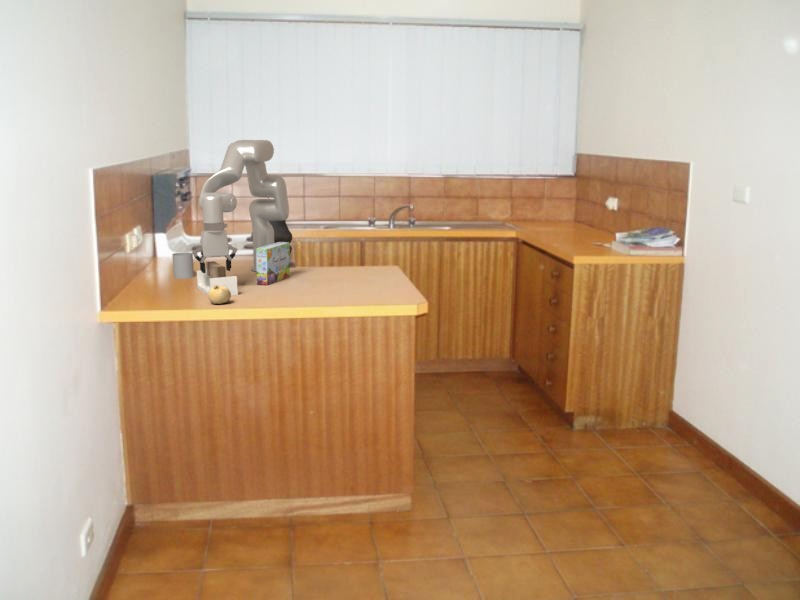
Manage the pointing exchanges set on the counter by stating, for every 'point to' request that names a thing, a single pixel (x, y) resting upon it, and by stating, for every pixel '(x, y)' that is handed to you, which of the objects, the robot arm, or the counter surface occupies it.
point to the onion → (219, 294)
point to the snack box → (273, 262)
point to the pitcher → (280, 232)
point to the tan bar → (215, 270)
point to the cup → (183, 265)
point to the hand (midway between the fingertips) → (216, 271)
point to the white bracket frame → (216, 282)
